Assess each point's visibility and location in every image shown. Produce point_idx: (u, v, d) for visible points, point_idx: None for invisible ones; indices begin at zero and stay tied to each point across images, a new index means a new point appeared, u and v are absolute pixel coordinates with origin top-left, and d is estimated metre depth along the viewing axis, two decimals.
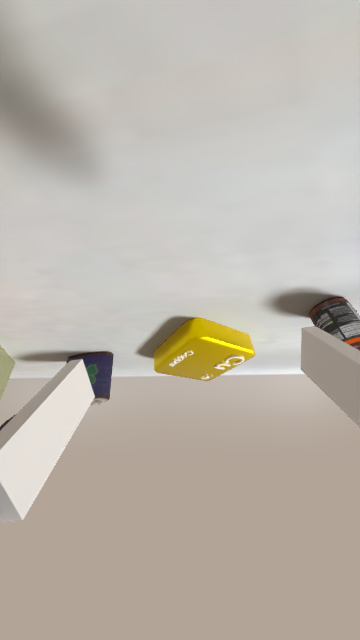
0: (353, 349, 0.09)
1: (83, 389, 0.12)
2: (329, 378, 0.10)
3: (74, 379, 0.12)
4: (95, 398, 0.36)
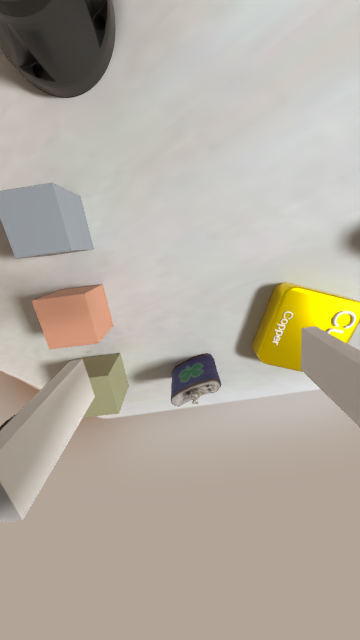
0: (353, 349, 0.09)
1: (83, 389, 0.12)
2: (329, 378, 0.10)
3: (74, 378, 0.12)
4: (207, 382, 0.35)
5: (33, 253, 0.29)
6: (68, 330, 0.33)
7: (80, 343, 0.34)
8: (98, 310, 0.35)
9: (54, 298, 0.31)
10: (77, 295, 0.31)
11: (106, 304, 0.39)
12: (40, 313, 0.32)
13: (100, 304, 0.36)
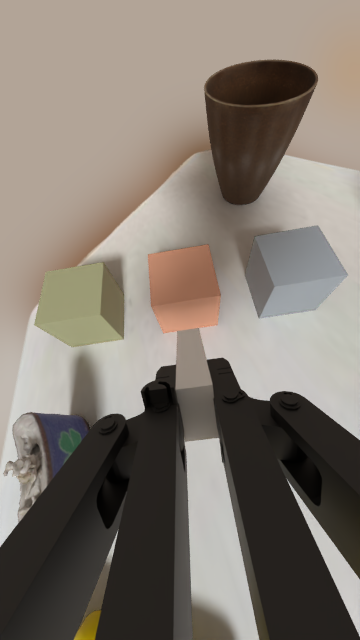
0: (200, 346, 0.12)
1: None
2: None
3: None
4: None
5: (263, 251, 0.26)
6: (170, 275, 0.26)
7: (152, 285, 0.26)
8: (191, 312, 0.27)
9: (212, 264, 0.26)
10: (217, 287, 0.24)
11: (192, 326, 0.31)
12: (193, 250, 0.27)
13: (196, 317, 0.28)
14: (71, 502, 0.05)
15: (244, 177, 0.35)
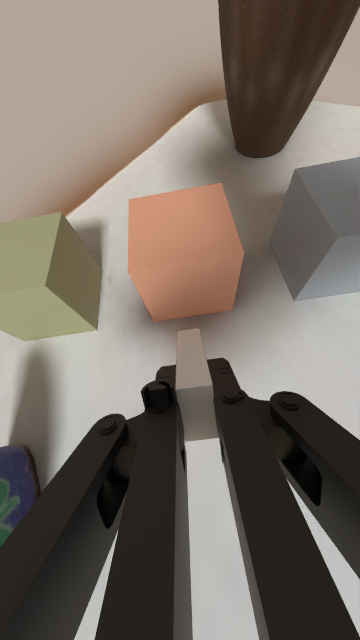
0: (200, 346, 0.12)
1: None
2: None
3: None
4: None
5: (311, 188, 0.16)
6: (162, 226, 0.16)
7: (132, 241, 0.16)
8: (194, 287, 0.17)
9: (228, 210, 0.16)
10: (238, 242, 0.15)
11: (196, 312, 0.21)
12: (198, 191, 0.18)
13: (202, 297, 0.19)
14: (71, 502, 0.05)
15: (269, 107, 0.25)
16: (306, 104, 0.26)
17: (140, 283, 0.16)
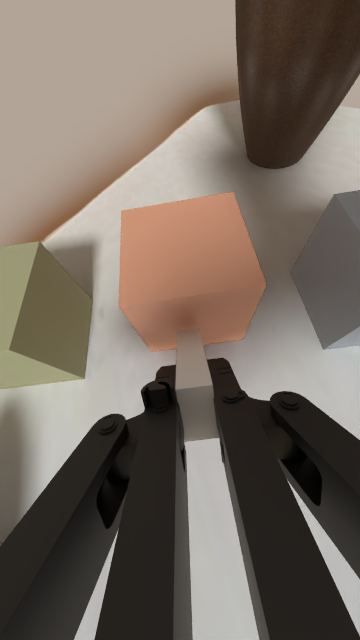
0: (200, 346, 0.12)
1: None
2: None
3: None
4: None
5: (358, 222, 0.13)
6: (161, 245, 0.13)
7: (125, 265, 0.13)
8: (201, 319, 0.14)
9: (243, 226, 0.13)
10: (258, 269, 0.12)
11: None
12: (205, 202, 0.15)
13: (209, 328, 0.15)
14: (71, 502, 0.05)
15: (291, 112, 0.22)
16: (333, 109, 0.22)
17: (134, 317, 0.13)
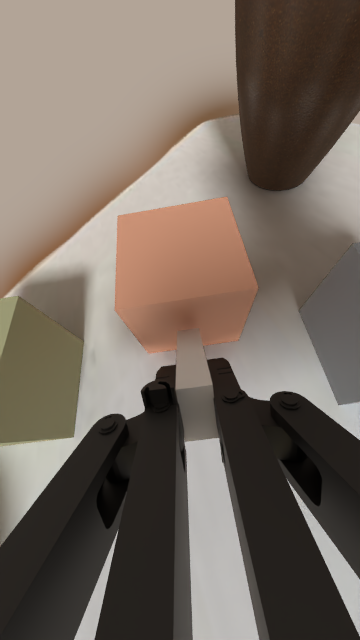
0: (200, 346, 0.12)
1: None
2: None
3: None
4: None
5: None
6: (156, 249, 0.14)
7: (121, 269, 0.13)
8: (196, 321, 0.14)
9: (236, 230, 0.14)
10: (250, 272, 0.12)
11: None
12: (199, 207, 0.15)
13: (205, 330, 0.16)
14: (71, 502, 0.05)
15: (296, 137, 0.20)
16: (341, 133, 0.21)
17: (130, 320, 0.13)
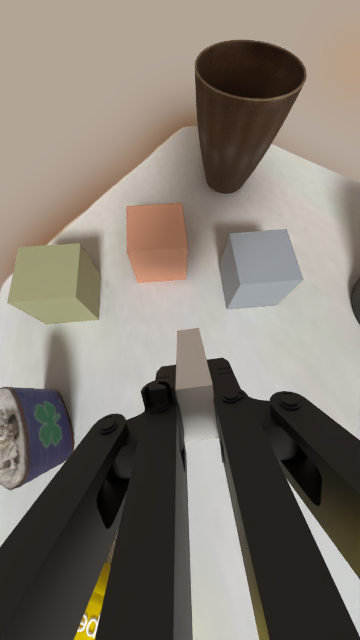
0: (200, 346, 0.12)
1: None
2: None
3: None
4: (24, 460, 0.19)
5: (235, 249, 0.28)
6: (146, 227, 0.29)
7: (129, 234, 0.29)
8: (162, 263, 0.31)
9: (183, 221, 0.30)
10: (185, 241, 0.28)
11: (163, 278, 0.35)
12: (168, 207, 0.30)
13: (167, 269, 0.32)
14: (71, 502, 0.05)
15: (227, 167, 0.35)
16: (254, 166, 0.37)
17: (132, 258, 0.29)
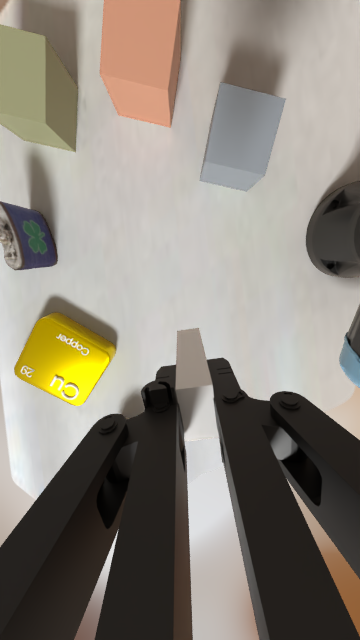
0: (200, 346, 0.12)
1: None
2: None
3: None
4: (20, 255, 0.30)
5: (217, 111, 0.26)
6: (126, 33, 0.24)
7: (104, 41, 0.24)
8: (142, 100, 0.28)
9: (173, 39, 0.24)
10: (168, 78, 0.25)
11: (146, 119, 0.32)
12: None
13: (148, 109, 0.29)
14: (71, 502, 0.05)
15: None
16: None
17: (107, 84, 0.26)
